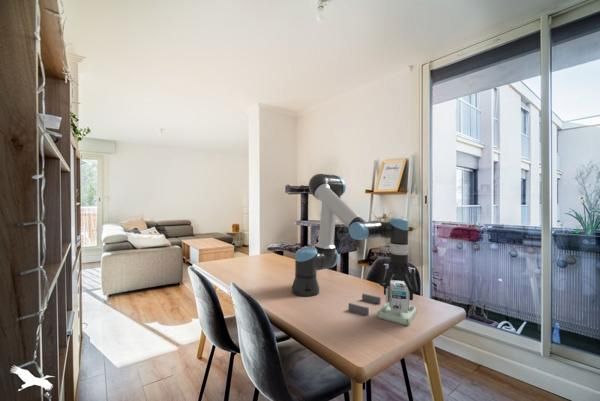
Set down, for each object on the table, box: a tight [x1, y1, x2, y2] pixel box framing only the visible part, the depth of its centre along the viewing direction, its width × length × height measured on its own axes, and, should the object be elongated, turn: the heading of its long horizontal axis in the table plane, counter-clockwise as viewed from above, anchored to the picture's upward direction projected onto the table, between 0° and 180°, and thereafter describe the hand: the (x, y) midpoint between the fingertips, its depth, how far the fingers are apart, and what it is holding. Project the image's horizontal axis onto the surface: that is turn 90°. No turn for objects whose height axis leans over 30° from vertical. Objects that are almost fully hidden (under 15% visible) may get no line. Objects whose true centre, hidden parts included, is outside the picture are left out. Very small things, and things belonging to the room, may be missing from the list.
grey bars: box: [348, 293, 382, 316], centre depth 127 cm, size 9×17×3 cm, turn 145°
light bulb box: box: [388, 279, 409, 313], centre depth 118 cm, size 11×7×11 cm, turn 168°
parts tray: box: [376, 302, 418, 327], centre depth 118 cm, size 13×17×2 cm
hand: (397, 304), depth 118 cm, fingers closed on light bulb box, 8 cm apart
